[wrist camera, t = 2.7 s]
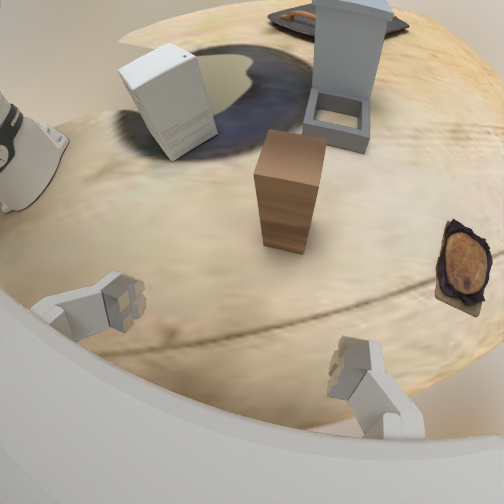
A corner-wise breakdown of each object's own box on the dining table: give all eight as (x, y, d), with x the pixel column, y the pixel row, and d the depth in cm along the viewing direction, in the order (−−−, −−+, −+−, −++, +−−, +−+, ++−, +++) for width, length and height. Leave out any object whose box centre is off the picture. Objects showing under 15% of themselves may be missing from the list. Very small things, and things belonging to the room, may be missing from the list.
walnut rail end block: (303, 254, 27) (318, 186, 16) (263, 245, 27) (253, 173, 16) (310, 219, 28) (326, 139, 17) (273, 211, 29) (268, 129, 18)
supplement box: (194, 110, 36) (171, 40, 24) (219, 135, 33) (198, 55, 22) (150, 135, 35) (115, 69, 23) (170, 164, 32) (131, 89, 21)
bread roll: (476, 321, 23) (495, 316, 19) (426, 296, 25) (443, 288, 21) (487, 243, 25) (503, 232, 22) (441, 215, 27) (455, 201, 24)
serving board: (347, 4, 53) (348, -11, 47) (413, 32, 46) (417, 16, 40) (256, 27, 46) (254, 6, 41) (341, 59, 39) (345, 33, 34)
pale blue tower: (367, 154, 30) (404, 36, 14) (298, 139, 32) (303, 13, 16) (367, 91, 35) (386, 0, 19) (313, 80, 36) (317, -14, 20)
